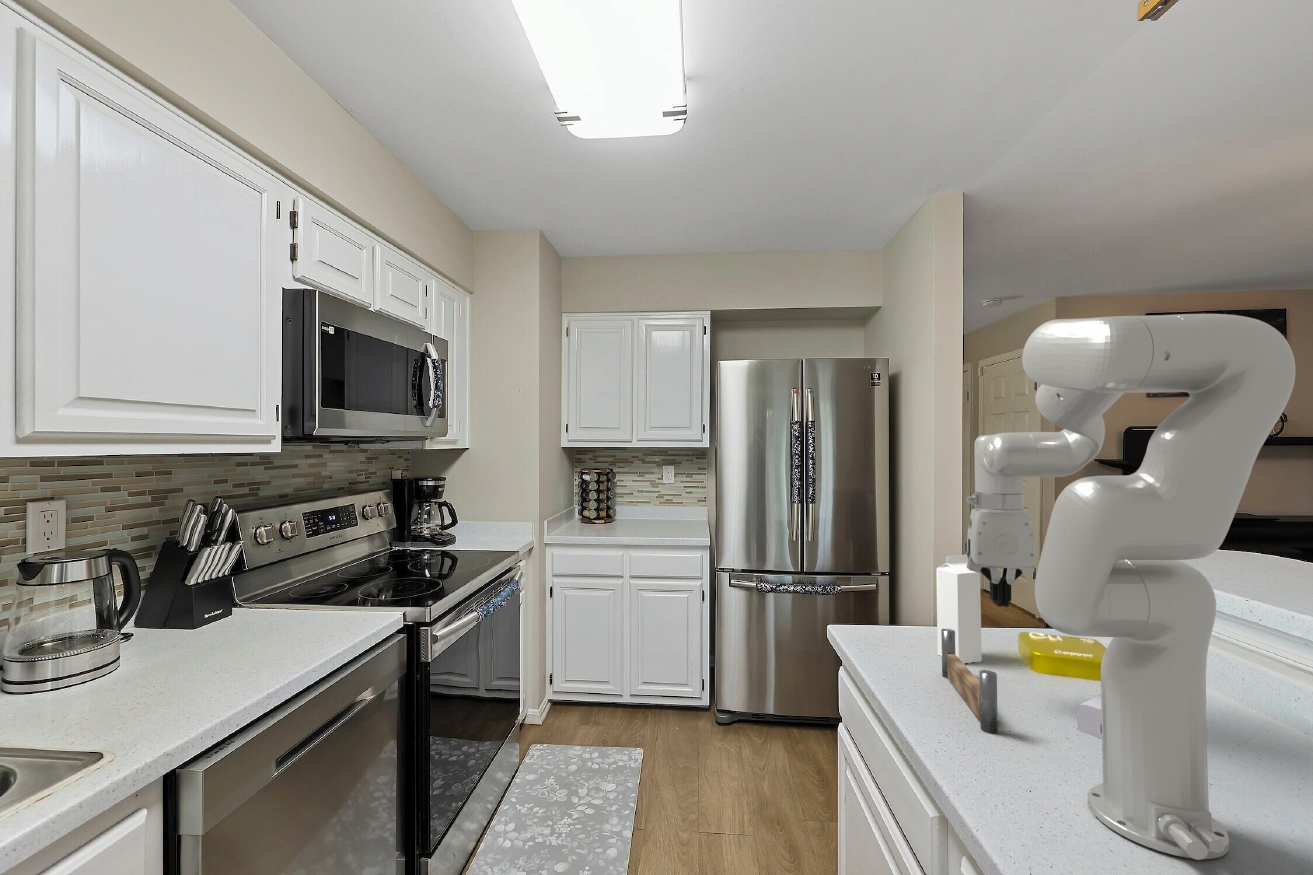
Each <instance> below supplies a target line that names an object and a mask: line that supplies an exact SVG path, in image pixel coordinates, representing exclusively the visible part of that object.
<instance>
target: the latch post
mask: <svg viewBox="0 0 1313 875" xmlns="http://www.w3.org/2000/svg"><path fill="white" fill-rule="evenodd" d="M941 637H942V657H941V675H942V677H943V678H945V677H946V678H945V679H948V665H947V654H953V655H955V631H954V630H952V629H941Z"/></svg>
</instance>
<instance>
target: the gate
mask: <svg viewBox="0 0 1313 875" xmlns="http://www.w3.org/2000/svg"><path fill="white" fill-rule="evenodd" d="M947 665H948V678H947V679H948V680H949V681H950V683H951V684H952V685H953V687H954V688H955V689H956V691H957V693H959V695H960V696H961V697H962V699H963V700H964V702H966V704H967V706H968V707H969V708H970V710H971V711H972V712H973V714H974V715H975V716H976V717H977V719H978V720H979V721H980V680H978V678H977V677H976V676H975V675H974V674H973V673H972V672H971V671H970V669H969V668H968V667H967V666H966V665H965V664H963V662H962V661H961V660H960V659H959V658H958V657H957V656H956V655H953V654H947Z"/></svg>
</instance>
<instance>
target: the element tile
mask: <svg viewBox="0 0 1313 875" xmlns="http://www.w3.org/2000/svg"><path fill="white" fill-rule="evenodd" d="M1017 635H1018V636H1017V638H1018V640H1017V642H1018V653H1019V652H1020V653H1019V655H1020V656H1021V657H1022V659H1023V661H1024V660H1025V661H1024V663H1027V664H1026V665H1027V666H1029V667H1028V669H1029V670H1031V671H1032V670H1033V671H1032V672H1035V673H1038V674H1041V673H1042V674H1041V675H1049V676H1056V677H1057V676H1058V677H1066V678H1074V679H1082V680H1091V681H1098V682H1101V663H1102V659H1103V656H1104V653H1105V651H1106V649H1107V647H1106V646H1104V644H1103V643H1101V642H1100V641H1098V640H1096V639H1095V638H1094V639H1093V638H1089V637H1088V638H1087V637H1079V636H1077V637H1076V636H1066V635H1057V634H1047V633H1041V632H1026V631H1025V632H1024V631H1021V632H1019V633H1018V634H1017Z"/></svg>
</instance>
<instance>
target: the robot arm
mask: <svg viewBox="0 0 1313 875" xmlns="http://www.w3.org/2000/svg"><path fill="white" fill-rule="evenodd" d="M1021 358H1022V368H1023V370H1024V372H1025V374H1026V376H1027V377H1028V378H1029V379H1030V380H1031V381H1032V382H1034V383H1036V384H1039V385H1040V386H1039V387H1038V389H1037V391H1036V393H1035V398H1034V399H1035V405H1036V407H1037V409H1038V411H1039V413H1040V414H1041V415H1042V416H1043V417H1044V418H1045V419H1046V420H1048V421H1049V422H1050V423H1052V424H1053V425H1056V426H1057V427H1059V428H1062V430H1060V431H1034V432H1033V431H1030V432H1029V431H1028V432H1027V431H1024V432H1000V433H995V434H985V435H980V436H978V437H977V438H975V441H974V449H973V450H974V491H975V492H973V494H972V495H967V496H966V502H967V504H971V505H973V506H974V509H973V508H972V509H971V511H970V515H969V521H968V527H967V539H966V555H967V557H968V563H967V568H968V569H969V570H971V571H974V572H978V573H980V574H981V575H983V576H984V577H985V578H986V580H988V581H989V599H990V600H991V601H992V603H993V604H994V605H996V607H999V608H1001V607H1005V608H1008V607H1010V602H1012V585H1014V583H1015V581H1016V580H1017V579H1019V577H1021V576H1023V575H1030V574H1033V573H1034V572H1035V566H1036V564H1037V548H1036V540H1035V533H1034V532H1035V531H1034V525H1033V521H1032V518H1031V513H1030V511H1028V510H1025V509H1024V505H1025V504H1024V502H1025V500H1024V478H1062V477H1068V476H1070V475H1071V476H1072V475H1073V474H1076V473H1077V472H1079V471H1080V470H1081V469H1083V468H1084V467H1085V466H1086V465H1087V464H1089V463H1090V462H1091V461H1092V460H1093V459H1094V458H1096V456H1097V455H1099V453H1100V451H1101V450H1102V448H1103V445H1104V441H1105V436H1106V424H1105V420H1104V417H1103V415H1104V413H1106V412H1107V411H1108V410H1109V409H1110V408H1111V407H1112V406H1113V405H1115V403H1116V402H1117V401H1118V400H1119V399H1120V398H1121V397H1122V396H1123V395H1124V394H1127V393H1128V394H1133V393H1135V394H1140V393H1144V394H1145V393H1148V394H1150V393H1152V394H1153V393H1188V395H1189V398H1188V399H1187V400H1185V401H1184V402H1183V403H1181V405H1179V406H1178V407H1176V408H1174V410H1173V411H1171V412H1170V414H1168V415H1167V416H1166V418H1164V419H1163V420H1162V422H1160V423H1159V425H1158V426H1157V427H1156V429H1155V430H1154V431H1153V433H1152V435H1151V436H1150V438H1149V440H1148V443H1147V447H1146V452H1145V454H1144V457H1143V460H1142V462H1141V465H1140V466H1139V468H1138V469H1137V470H1136V471H1135V472H1134V473H1131V474H1129V475H1092V476H1085V477H1081V478H1079V479H1078V478H1077V479H1076V480H1074V481H1073V482H1070V483H1069V484H1068V485H1067V486H1065V488H1064V489H1063V490H1062V491H1061V492H1060V493H1059V495H1058V496H1057V499H1056V500H1055V503H1054V505H1053V507H1052V512H1051V515H1050V519H1049V522H1048V526H1047V529H1046V530H1047V531H1046V535H1045V539H1044V543H1043V546H1042V550H1041V554H1040V558H1039V561H1038V566H1037V570H1036V575H1035V581H1034V598H1035V599H1034V600H1035V603H1036V607H1037V610H1038V612H1039V614H1040V616H1041V618H1042V620H1044V622H1045V623H1046V624H1047V625H1048V626H1049V627H1051V628H1053V629H1054V630H1055V631H1058V632H1060V633H1062V634H1066V635H1069V636H1073V637H1076V636H1077V637H1085V638H1087V637H1088V638H1089V637H1091V638H1112V639H1111V640H1110V641H1109V643H1108V645H1107V647H1106V648H1107V649H1106V651H1105V653H1104V656H1103V659H1102V663H1101V681H1100V694H1101V718H1102V739H1101V750H1102V751H1101V752H1102V753H1101V755H1102V783H1101V784H1097V785H1094V786H1093V787H1091V788H1090V789H1089V790H1088V792H1087V803H1088V807H1089V809H1090V811H1091V812H1092V814H1093V815H1094V816H1095V817H1097V819H1098V820H1099V821H1101V823H1103V824H1104V825H1106V826H1107V827H1108V828H1109V829H1111V830H1113V831H1114V832H1116V833H1118V834H1119V835H1120V836H1123V837H1125V838H1126V839H1129V840H1130V841H1132V842H1135V843H1137V844H1140V845H1141V846H1144V847H1146V848H1150V849H1152V850H1155V851H1158V852H1161V853H1163V854H1164V853H1165V854H1168V855H1171V856H1176V857H1180V858H1186V859H1193V860H1197V861H1200V860H1213V859H1218V858H1220V857H1221V858H1222V857H1223V856H1225V855H1227V853H1228V852H1229V851H1230V838H1229V833H1228V832H1227V831H1226V829H1225V827H1224V826H1222V825H1221V824H1220V822H1218V821H1217V820H1216V819H1214V817H1212V812H1211V811H1210V807H1209V801H1210V800H1209V771H1208V770H1209V768H1208V738H1207V737H1208V734H1207V733H1208V732H1207V660H1208V659H1207V658H1208V651H1209V645H1210V640H1211V637H1212V632H1213V629H1214V625H1215V620H1216V615H1217V600H1216V595H1215V592H1214V589H1213V587H1212V585H1211V583H1210V581H1209V580H1208V578H1207V577H1206V576H1204V574H1203V573H1202V572H1200V571H1199V570H1198V569H1197V568H1195V567H1193V566H1192V565H1190V564H1187V563H1186V562H1184V561H1185V560H1187V561H1188V560H1198V559H1201V558H1205V557H1209V556H1210V555H1213V554H1214V553H1215V552H1216V551H1218V549H1219V548H1220V547H1221V545H1222V544H1223V542H1224V541H1225V538H1226V536H1227V534H1228V532H1229V530H1230V527H1231V524H1232V522H1233V520H1234V518H1235V515H1236V512H1237V510H1238V507H1239V505H1240V501H1241V500H1242V498H1243V494H1244V492H1245V490H1246V486H1247V484H1248V481H1249V479H1250V476H1251V473H1252V470H1253V468H1254V467H1253V466H1254V464H1255V462H1256V460H1257V457H1258V455H1259V453H1260V451H1261V449H1262V447H1263V446H1264V443H1265V442H1266V440H1267V438H1268V437H1269V435H1270V434H1271V432H1272V430H1273V429H1274V427H1275V425H1276V424H1277V423H1278V421H1279V419H1280V418H1281V416H1282V414H1283V412H1284V410H1285V408H1286V407H1287V404H1288V402H1289V400H1290V397H1291V395H1292V392H1293V389H1294V385H1295V381H1296V362H1295V356H1294V353H1293V350H1292V349H1291V346H1290V344H1289V342H1288V340H1287V339H1286V338H1285V337H1284V335H1283V334H1282V333H1281V332H1280V331H1279V330H1278V329H1276V328H1275V327H1273V326H1272V325H1270V324H1269V323H1266V322H1265V321H1263V320H1260V319H1256V318H1252V317H1248V316H1243V315H1237V314H1225V313H1223V314H1222V313H1183V314H1182V313H1181V314H1180V313H1179V314H1163V315H1159V314H1158V315H1156V314H1155V315H1121V316H1119V315H1117V316H1116V315H1115V316H1114V315H1113V316H1100V317H1099V316H1098V317H1086V318H1083V317H1082V318H1057V319H1052V320H1048V321H1046V322H1044V323H1042V324H1041V325H1039V326H1038V327H1037V328H1036V329H1034V331H1033V332H1032V333H1031V334H1030V335H1029V336H1028V338H1027V340H1026V341H1025V344H1024V348H1023V350H1022V357H1021ZM998 569H1001V576H1000V577H999V571H998Z"/></svg>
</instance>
